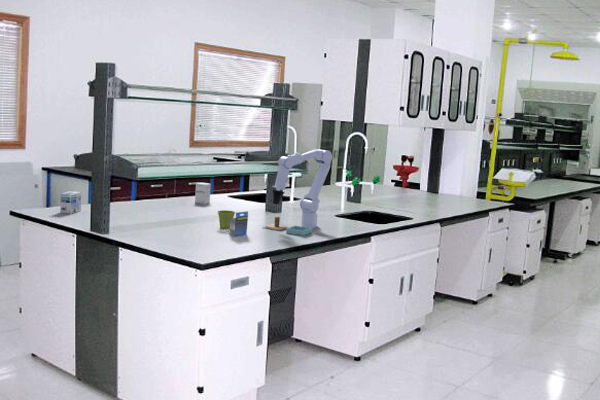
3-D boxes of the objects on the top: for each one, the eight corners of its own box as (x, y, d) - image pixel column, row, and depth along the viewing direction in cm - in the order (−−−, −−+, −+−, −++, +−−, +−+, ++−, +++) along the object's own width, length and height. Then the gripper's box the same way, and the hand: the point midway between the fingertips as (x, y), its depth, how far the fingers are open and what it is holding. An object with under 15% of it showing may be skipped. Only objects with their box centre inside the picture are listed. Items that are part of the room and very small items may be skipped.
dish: (294, 230, 349) (295, 225, 349) (311, 233, 345) (311, 228, 345) (286, 233, 340) (286, 228, 340) (303, 236, 336) (303, 231, 336)
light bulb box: (71, 214, 353) (71, 194, 351) (59, 212, 354) (60, 193, 353) (81, 210, 364) (81, 191, 362) (70, 209, 365) (70, 190, 363)
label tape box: (241, 233, 335) (242, 209, 333) (247, 234, 332) (248, 211, 330) (229, 235, 328) (230, 211, 326) (234, 236, 325) (236, 212, 323)
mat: (272, 225, 360) (272, 224, 360) (291, 228, 355) (291, 228, 355) (261, 228, 349) (261, 228, 349) (281, 232, 344) (281, 231, 344)
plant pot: (222, 230, 338) (223, 213, 337) (213, 226, 346) (214, 210, 344) (237, 229, 344) (238, 213, 342) (228, 225, 351) (229, 209, 350)
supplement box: (194, 202, 414) (195, 183, 412) (199, 201, 421) (200, 182, 419) (205, 204, 412) (206, 184, 410) (210, 202, 419) (211, 183, 417)
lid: (272, 225, 359) (273, 214, 358) (290, 228, 354) (291, 217, 353) (262, 228, 349) (263, 217, 348) (280, 231, 345) (281, 220, 344)
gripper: (275, 177, 352) (269, 201, 352) (273, 176, 337) (267, 202, 338) (288, 180, 352) (282, 205, 352) (286, 180, 337) (280, 205, 337)
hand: (275, 203), depth 345 cm, fingers open, 7 cm apart
